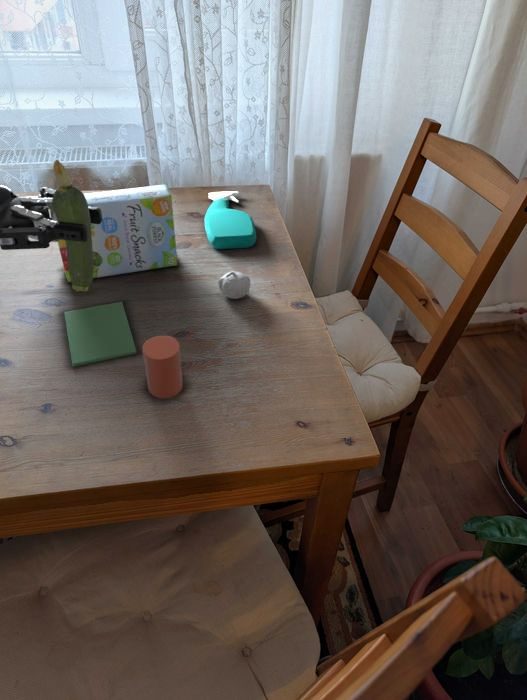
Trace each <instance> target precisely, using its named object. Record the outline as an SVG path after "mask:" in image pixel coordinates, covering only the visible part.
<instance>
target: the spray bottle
mask: <svg viewBox="0 0 527 700" xmlns="http://www.w3.org/2000/svg"><path fill="white" fill-rule="evenodd" d="M239 195H240V193H239V191H234V190H233V191H232V190H231V191H230V190H229V191H213V192H208V199H209V200H212V203H211V204H210V205H209V207H208V209H207V211H206V214H205V215H204V229H205V233H206V236H207V239H208V241H209V243H210V246H211V247H213V248H214V249H215V250H227V249H228V250H229V249H230V250H231V249H248V248H251V247H253V246H254V245H255V243H256V241H257V230H256V226H255V222H254V220H253V217H252V216H251V215H250V214H248V213H247V212H245V211H243V210H239V209H234V208H230V206H229V205H230V201H233V202H235V203H238V204H239V202H240V201H239V200H238V199H237V198H236V197H239Z"/></svg>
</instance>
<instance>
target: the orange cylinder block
mask: <svg viewBox="0 0 527 700" xmlns="http://www.w3.org/2000/svg"><path fill="white" fill-rule="evenodd" d="M141 348H142V355H143V356H142V357H143V362H144V369H145V376H146V384H147V389H148V390H147V391H148V392H149V394H150V395H152V396H153V397H155V398H158V399H170V398H173V397H175V396H177V395H179V393H180V392H181V391H182V390H183V388H184V387H183V384H184V383H183V370H182V360H181V350H180V343H179V341H178V340H177V339H176V338H175V337H172V336H170V335H163V334H162V335H155V336H153V337H150V338H148V339H147V340H146V341H145V342H144V343H143V345H142V347H141Z"/></svg>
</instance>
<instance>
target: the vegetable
mask: <svg viewBox="0 0 527 700" xmlns="http://www.w3.org/2000/svg"><path fill="white" fill-rule="evenodd" d="M52 169H53V172H54V176H55V180H56V183H57V185H58V187H56V189H54V190H55V192H54V194H53V199H52V204H53V209H54V212H55V215H56V217H57V220H58V222H67V223H76V224H84V225H86V226H87V228H88V232H89V239H88V240H87V241H86V242H80V241H69V240H65V242H66V248H67V262H68V269H69V276H70V281H71V282H70V283H71V287H72V290H73V291H76V292H77V293H78V292H88V291H89V288H90V286H91V284H92V283H93V279H94V278H93V270H94V259H93V249H92V236H91V220H90V213H89V208H88V203H87V200H86V198H85V196H84V194H85V193H84V192H83V191H82V190H81V189H80V188H79V187H78V186H76V185H73V183H72V182H73V179H72V176H71V175H70V173H69V171H68V169H66V167H65V166H64V165H63V164H62V162H60V160H58V159H55V160H54V161H53V168H52Z"/></svg>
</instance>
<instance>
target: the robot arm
mask: <svg viewBox="0 0 527 700" xmlns="http://www.w3.org/2000/svg"><path fill="white" fill-rule="evenodd" d="M38 190H39V195H36V196H31V195H29V196H17V195H16V194H15V193H14V192H13V191H12V190H11V189H10V188H8V187H7V186H4V185H2V184H1V185H0V250H3V251H13V250H39V249H48V248H49V247H50V246H51V245H50V243H58V241H60V239H61V240H69V241H80V242H86V241H87V240H88V239H89V232H88V228H87V226H86V225H84V224H76V223H67V222H58V220H57V217H56V215H55V212H54V209H53V204H52V199H53V194H54V192H55V190H56V189H52V188H49V187H45V186H43V187H40V188H39V189H38ZM88 208H89V213H90V220H91V224H100V223H101V222H102V221H103V218H102V212H101V209H100V208H98V207H89V206H88ZM50 209H51V212H52V216H53V217H52V218H51V213H50ZM29 238H30V239H32V240H30V239H29Z"/></svg>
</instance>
